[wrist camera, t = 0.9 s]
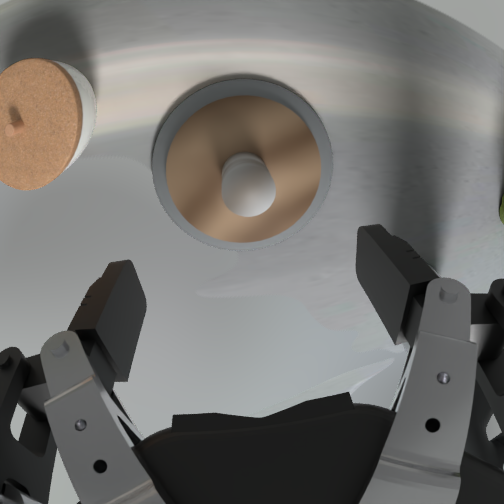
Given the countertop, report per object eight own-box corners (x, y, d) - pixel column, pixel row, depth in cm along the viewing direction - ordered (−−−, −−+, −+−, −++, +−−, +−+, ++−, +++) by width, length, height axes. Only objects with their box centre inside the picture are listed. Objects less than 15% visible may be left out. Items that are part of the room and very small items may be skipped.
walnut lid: (345, 176, 28) (370, 198, 23) (239, 262, 32) (242, 298, 27) (250, 64, 22) (257, 57, 17) (137, 171, 26) (118, 192, 21)
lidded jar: (76, 38, 19) (21, 28, 11) (134, 116, 24) (95, 132, 16) (10, 113, 22) (-48, 133, 14) (61, 184, 27) (13, 224, 19)
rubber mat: (361, 176, 29) (364, 178, 29) (238, 275, 34) (238, 278, 33) (251, 42, 22) (251, 41, 21) (119, 170, 27) (117, 171, 26)
